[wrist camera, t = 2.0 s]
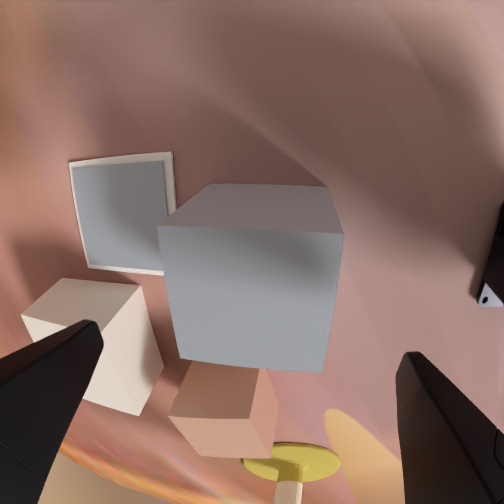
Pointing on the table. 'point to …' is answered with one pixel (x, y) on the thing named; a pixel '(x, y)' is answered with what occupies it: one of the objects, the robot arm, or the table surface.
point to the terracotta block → (226, 410)
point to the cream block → (105, 337)
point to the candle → (294, 468)
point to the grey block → (253, 275)
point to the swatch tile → (123, 209)
